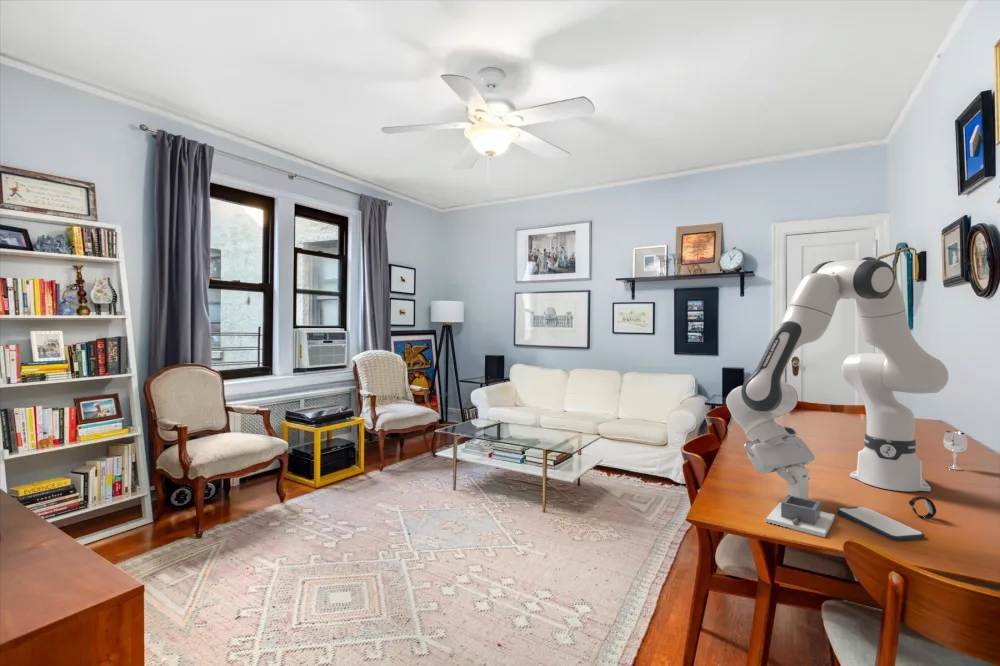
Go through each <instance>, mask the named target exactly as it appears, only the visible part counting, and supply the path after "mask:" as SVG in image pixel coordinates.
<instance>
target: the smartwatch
mask: <svg viewBox="0 0 1000 666" xmlns="http://www.w3.org/2000/svg"><path fill="white" fill-rule="evenodd" d="M919 500H925V501H924V505H925V508H926V510H927V514H925V515H919V513H917V509H916V508H915V504H916V503H915V502H917V501H919ZM908 504H909V506H910V507H911V509H912V511H913V512H914V513H915V515H916V516H917V517H920V518H921V519H924V517H925V518H927V519H931V518H934V517H935V516H936V514H937V508H936V506H935V503H934V502H933V500H931V499H929V498H928V497H925V496H916V497H912V498H911V500H908ZM923 516H924V517H923Z"/></svg>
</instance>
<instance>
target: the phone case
mask: <svg viewBox="0 0 1000 666" xmlns="http://www.w3.org/2000/svg"><path fill="white" fill-rule="evenodd" d="M836 513H837V514H838V515H839V516H840V515H841V517H843V518H845V519H847V520H848V521H851V522H853V523H855V524H857V523H858V524H857V525H859V524H860V525H859V526H861V525H862V526H861V527H863V526H864V527H863V528H865V527H866V529H867V528H868V530H870V531H872V532H874V533H875V534H878V535H880V536H882V537H884V538H886V539H889V540H890V541H895V542H906V541H907V542H908V541H918V540H924V539H925V538H926V536H925V535H926V534H925V533H923V532H922V531H920V530H917V529H915V528H913V527H910V526H909V525H906V524H904V523H902V522H901V521H898V520H895V519H894V518H891V517H889V516H887V515H884V514H882V513H880V512H878V511H875V510H874V509H871V508H869V507H866V506H850V507H849V506H848V507H838V508H837V509H836Z"/></svg>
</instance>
